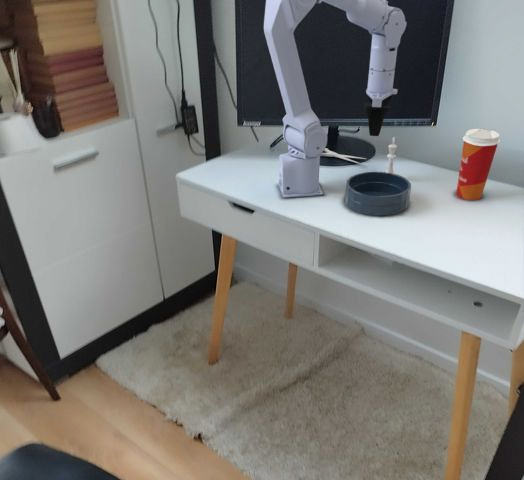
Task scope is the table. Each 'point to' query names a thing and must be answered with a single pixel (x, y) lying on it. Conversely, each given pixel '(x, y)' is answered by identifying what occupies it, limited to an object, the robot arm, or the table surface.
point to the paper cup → (476, 162)
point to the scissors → (338, 155)
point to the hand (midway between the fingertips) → (375, 130)
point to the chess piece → (391, 157)
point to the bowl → (377, 193)
